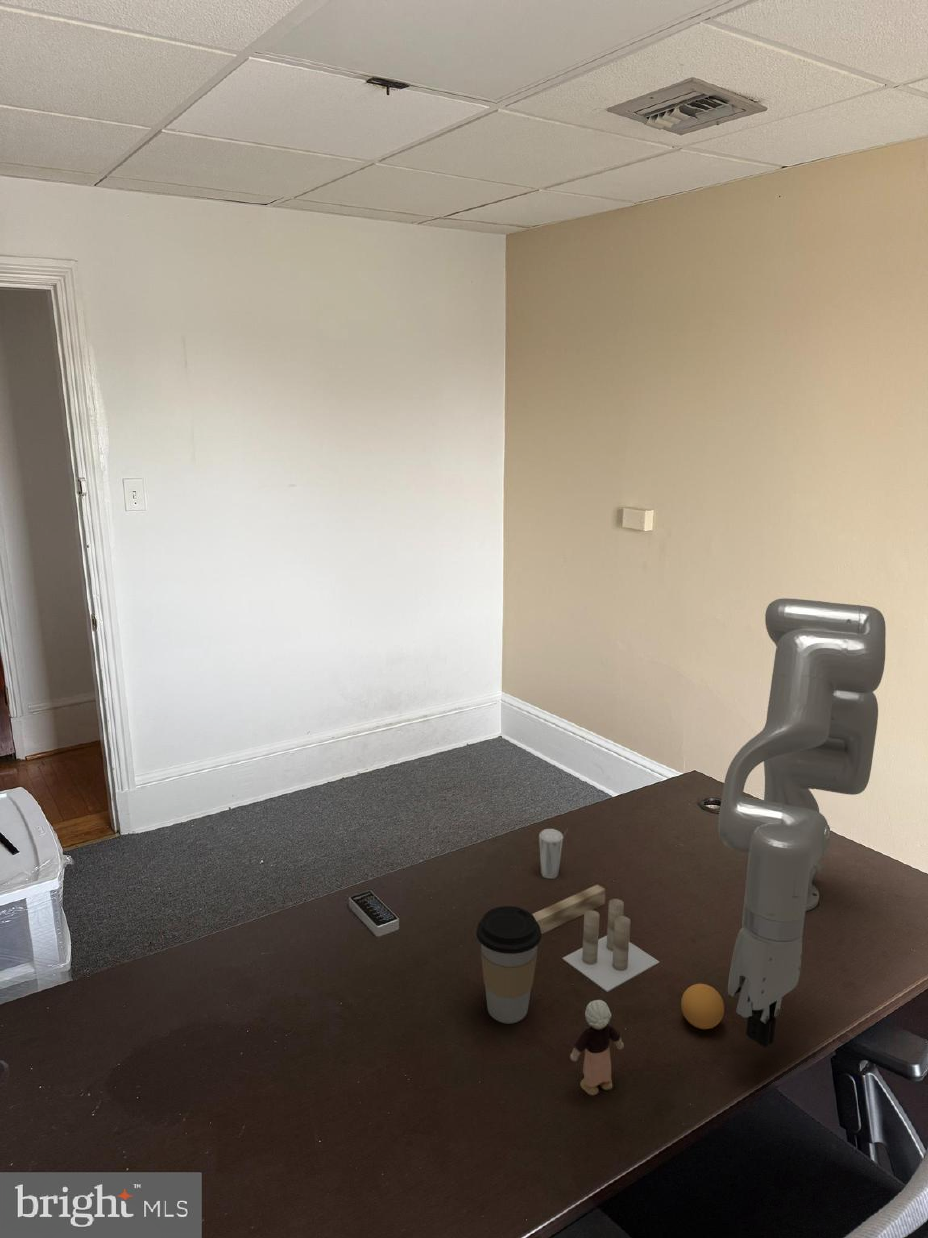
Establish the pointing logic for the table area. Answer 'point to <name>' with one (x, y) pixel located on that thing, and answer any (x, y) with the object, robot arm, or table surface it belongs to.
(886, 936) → the table surface
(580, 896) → the back rail
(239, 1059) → the table surface
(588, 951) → the left pin
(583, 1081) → the grandmother figurine
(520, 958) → the coffee cup
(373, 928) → the multiport hub
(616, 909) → the right pin
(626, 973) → the pin deck mark
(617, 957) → the front pin
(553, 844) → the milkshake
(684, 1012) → the ball
